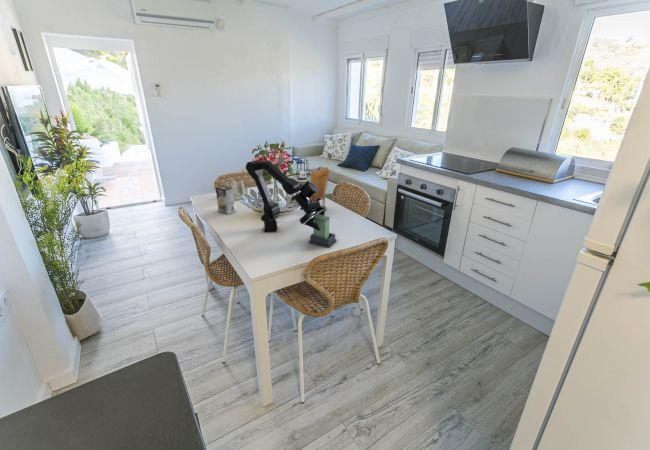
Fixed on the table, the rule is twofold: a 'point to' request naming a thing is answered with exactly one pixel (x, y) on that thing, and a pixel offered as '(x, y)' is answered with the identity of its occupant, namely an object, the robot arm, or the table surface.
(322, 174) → the pancake mix bag
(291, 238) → the table surface
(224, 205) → the coffee box
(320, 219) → the green box
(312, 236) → the dark grey open box
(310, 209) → the robot arm
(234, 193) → the ceramic cottage
